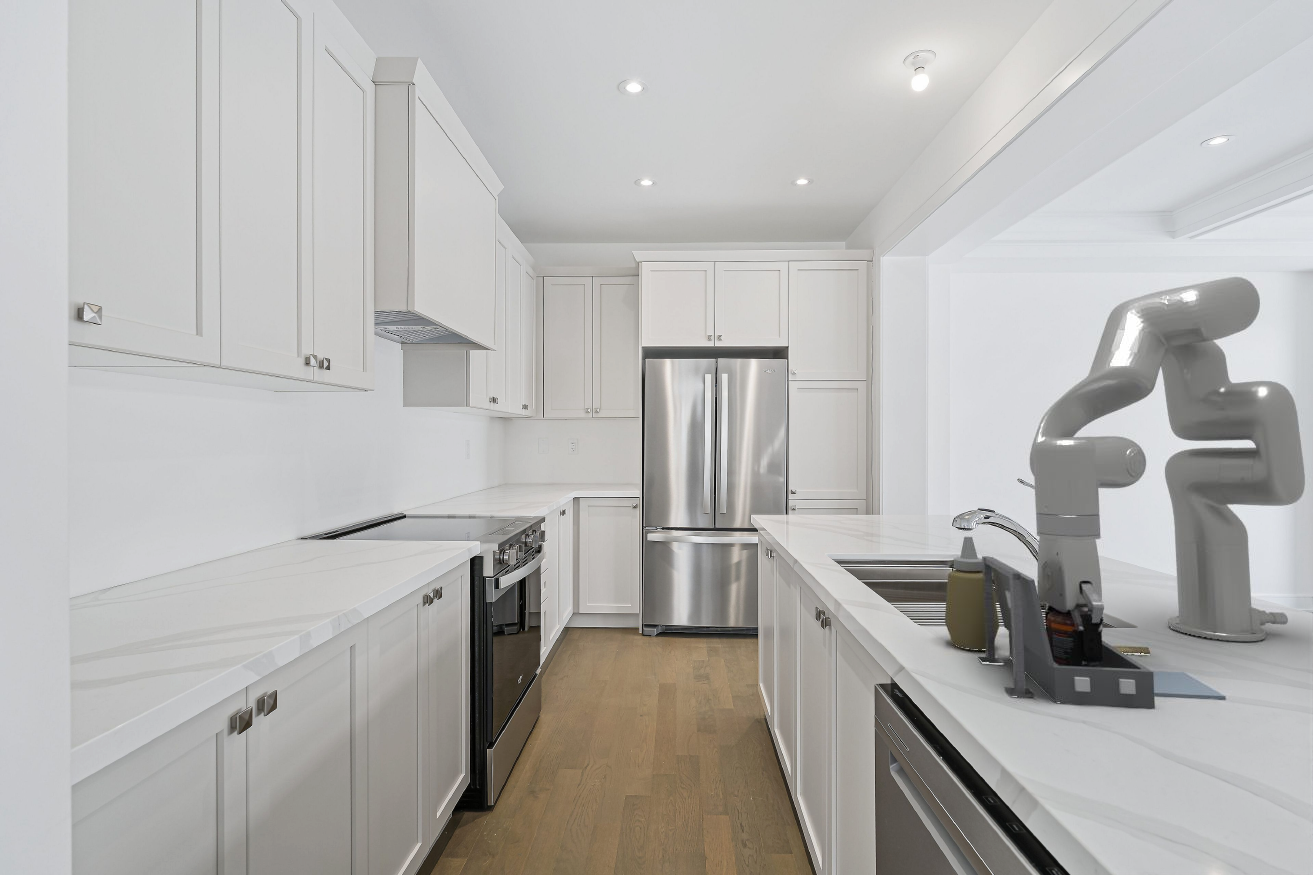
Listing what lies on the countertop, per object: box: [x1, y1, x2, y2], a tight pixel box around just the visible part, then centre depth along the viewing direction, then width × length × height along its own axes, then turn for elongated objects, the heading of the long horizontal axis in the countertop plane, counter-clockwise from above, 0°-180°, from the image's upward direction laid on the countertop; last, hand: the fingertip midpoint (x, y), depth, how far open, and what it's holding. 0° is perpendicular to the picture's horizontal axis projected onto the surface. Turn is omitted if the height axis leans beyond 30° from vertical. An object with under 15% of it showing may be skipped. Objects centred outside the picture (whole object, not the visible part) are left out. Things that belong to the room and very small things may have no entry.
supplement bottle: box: [1047, 606, 1099, 667], centre depth 88 cm, size 6×6×11 cm
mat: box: [1152, 670, 1227, 700], centre depth 86 cm, size 9×9×1 cm
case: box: [1008, 631, 1156, 709], centre depth 88 cm, size 11×18×4 cm, turn 167°
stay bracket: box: [977, 555, 1036, 698], centre depth 90 cm, size 3×15×16 cm, turn 167°
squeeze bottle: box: [944, 536, 1000, 651], centre depth 104 cm, size 8×8×18 cm
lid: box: [990, 556, 1054, 666], centre depth 90 cm, size 11×18×1 cm
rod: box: [1112, 645, 1151, 655], centre depth 99 cm, size 12×1×1 cm
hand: (1072, 649), depth 88 cm, fingers open, 9 cm apart
